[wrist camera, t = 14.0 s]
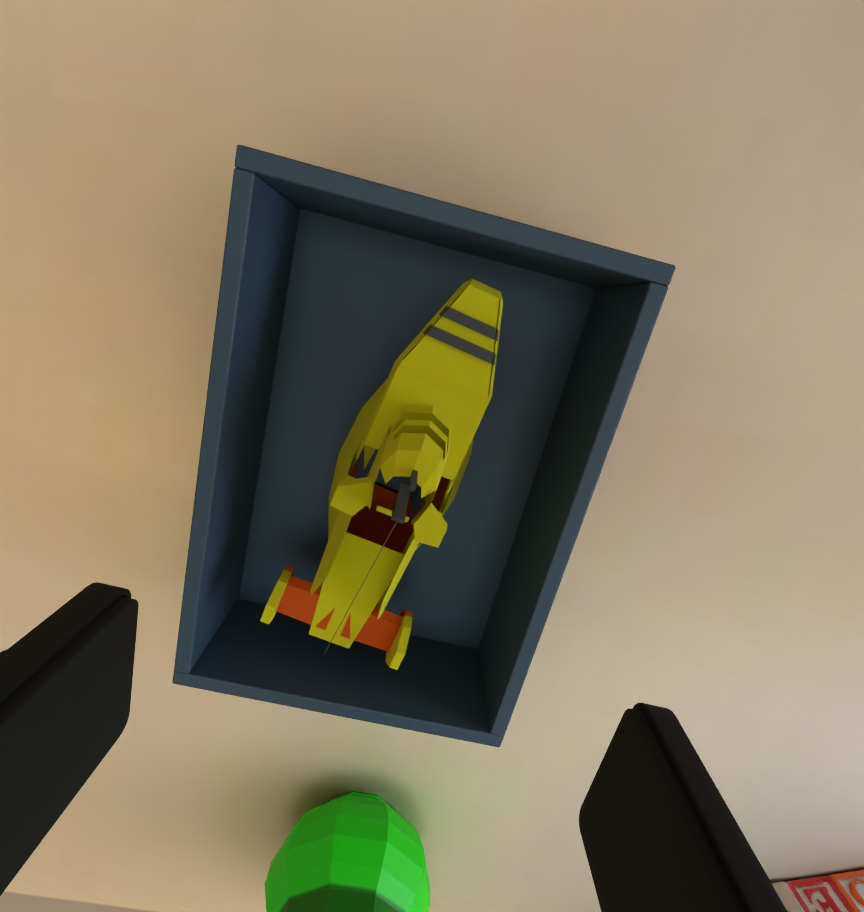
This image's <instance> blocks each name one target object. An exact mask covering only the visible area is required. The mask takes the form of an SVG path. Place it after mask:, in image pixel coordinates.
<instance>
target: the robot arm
mask: <svg viewBox="0 0 864 912" xmlns="http://www.w3.org/2000/svg"><path fill="white" fill-rule="evenodd" d="M137 617H138V602H137V600H135V599H131V593H130V591H129V590H128V589H125V588H120V587H116V586H111V585H107V584H102V583H98V582H97V583H92V584H90V585H89V586H87V587H86V588H85V589H83V590H82V591H81V592H80V593H78V594H77V595H76V596H75V597H73V598H72V599H71V600H70V601H68V602H67V603H66V604H65V605H63V606H62V607H61V608H59V609H58V610H57V611H56V612H54V613H53V614H52V615H51V616H49V617H48V618H47V619H46V620H44V621H43V622H42V623H40V624H39V625H38V626H37V627H35V628H34V629H33V630H32V631H30V632H29V633H28V634H27V635H25V636H24V637H23V638H22V639H20V640H19V641H18V642H16V643H15V644H14V645H13V646H11V647H10V648H9V649H8V650H4V651H2V652H0V895H1V894H2V893H3V892H4V890H5V889H6V888H7V886H8V885H9V884H10V882H11V881H12V880H13V878H14V877H15V876H16V874H17V873H18V872H19V870H20V869H21V868H22V866H23V865H24V864H25V862H26V861H27V860H28V858H29V857H30V855H31V854H32V853H33V851H34V850H35V849H36V847H37V846H38V845H39V843H40V842H41V841H42V839H43V838H44V837H45V835H46V834H47V833H48V831H49V830H50V829H51V827H52V826H53V825H54V823H55V822H56V821H57V819H58V818H59V817H60V815H61V814H62V813H63V811H64V810H65V809H66V807H67V806H68V805H69V803H70V802H71V801H72V799H73V798H74V797H75V795H76V794H77V793H78V791H79V790H80V789H81V787H82V786H83V785H84V783H85V782H86V781H87V779H88V778H89V777H90V775H91V774H92V773H93V771H94V770H95V769H96V767H97V766H98V765H99V763H100V762H101V761H102V759H103V758H104V757H105V755H106V754H107V753H108V751H109V750H110V749H111V747H112V746H113V745H114V743H115V742H116V741H117V739H118V738H119V736H120V735H121V733H122V732H123V730H124V728H125V726H126V723H127V720H128V717H129V712H130V700H131V688H132V676H133V664H134V652H135V641H136V629H137ZM579 826H580V832H581V836H582V839H583V843H584V847H585V851H586V855H587V858H588V862H589V866H590V870H591V873H592V877H593V881H594V885H595V888H596V892H597V896H598V900H599V904H600V907H601V911H602V912H788V911H787V910H786V908H785V906H784V904H783V903H782V901H781V899H780V897H779V896H778V894H777V892H776V890H775V889H774V887H773V885H772V883H771V882H770V880H769V878H768V876H767V875H766V873H765V871H764V869H763V868H762V866H761V864H760V862H759V861H758V859H757V857H756V855H755V854H754V852H753V850H752V849H751V847H750V845H749V843H748V842H747V840H746V838H745V836H744V835H743V833H742V831H741V829H740V828H739V826H738V824H737V822H736V821H735V819H734V817H733V815H732V814H731V812H730V810H729V808H728V807H727V805H726V803H725V801H724V800H723V798H722V796H721V794H720V793H719V791H718V789H717V787H716V786H715V784H714V782H713V780H712V779H711V777H710V775H709V773H708V772H707V770H706V768H705V766H704V765H703V763H702V761H701V760H700V758H699V756H698V754H697V753H696V751H695V749H694V747H693V746H692V744H691V742H690V740H689V739H688V737H687V735H686V733H685V732H684V730H683V728H682V726H681V725H680V723H679V721H678V719H677V718H676V716H675V715H674V713H673V712H672V711H671V710H669V709H667V708H662V707H658V706H653V705H649V704H644V703H637V704H636V705H635V706H634V707H633V709H627V710H626V711H625V713H624V714H623V717H622V719H621V721H620V723H619V725H618V727H617V730H616V732H615V734H614V736H613V738H612V741H611V743H610V745H609V747H608V749H607V752H606V754H605V756H604V758H603V760H602V762H601V765H600V767H599V769H598V771H597V773H596V776H595V778H594V780H593V782H592V784H591V786H590V789H589V791H588V793H587V795H586V797H585V800H584V802H583V804H582V806H581V809H580V814H579Z"/></svg>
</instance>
